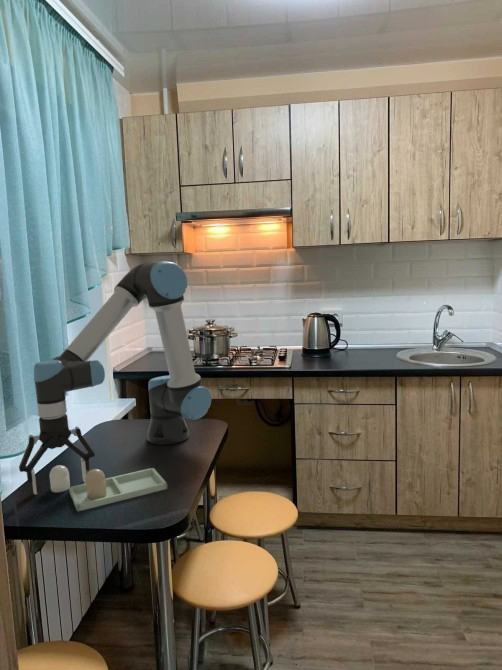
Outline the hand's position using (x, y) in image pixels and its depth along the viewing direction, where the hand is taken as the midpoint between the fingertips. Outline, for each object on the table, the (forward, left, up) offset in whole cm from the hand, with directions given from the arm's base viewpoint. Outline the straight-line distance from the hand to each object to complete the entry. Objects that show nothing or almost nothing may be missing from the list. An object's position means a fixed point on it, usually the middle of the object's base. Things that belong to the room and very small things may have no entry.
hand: (60, 486), depth 148 cm
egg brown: (-8, +11, 0) cm, 14 cm away
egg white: (0, 0, -1) cm, 1 cm away
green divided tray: (-14, +11, -1) cm, 18 cm away
